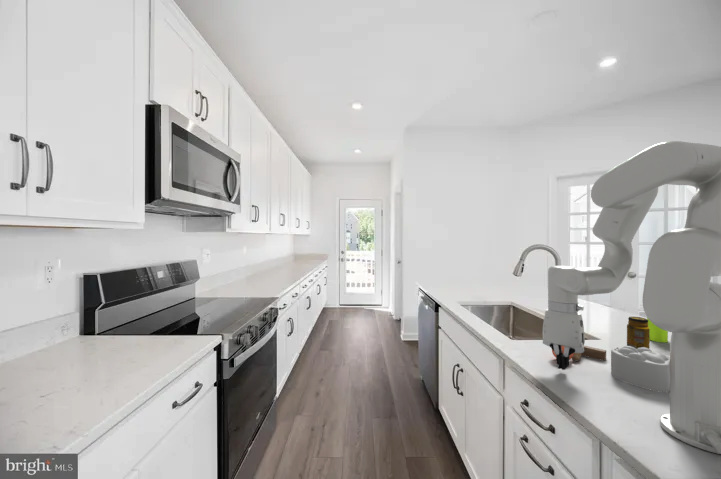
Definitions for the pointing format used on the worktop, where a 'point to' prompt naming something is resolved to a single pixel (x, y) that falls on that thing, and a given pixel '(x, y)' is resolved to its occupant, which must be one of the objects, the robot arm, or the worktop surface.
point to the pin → (576, 356)
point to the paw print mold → (641, 368)
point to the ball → (563, 352)
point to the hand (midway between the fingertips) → (562, 367)
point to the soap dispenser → (657, 333)
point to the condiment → (638, 332)
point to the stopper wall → (594, 353)
